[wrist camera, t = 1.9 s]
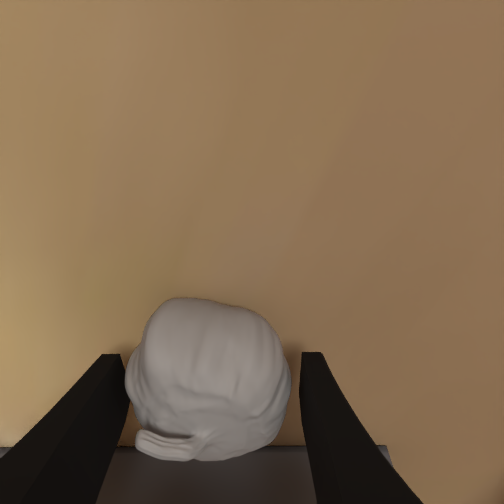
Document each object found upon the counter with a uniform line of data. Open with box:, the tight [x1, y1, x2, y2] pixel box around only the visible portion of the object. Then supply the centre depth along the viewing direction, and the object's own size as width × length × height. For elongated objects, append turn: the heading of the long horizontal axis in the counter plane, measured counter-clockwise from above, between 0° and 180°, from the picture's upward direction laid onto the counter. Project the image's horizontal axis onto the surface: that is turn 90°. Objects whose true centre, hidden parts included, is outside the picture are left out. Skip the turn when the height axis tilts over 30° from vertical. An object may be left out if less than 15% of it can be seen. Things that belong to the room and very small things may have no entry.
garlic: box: [125, 298, 291, 461], centre depth 11 cm, size 6×5×5 cm
